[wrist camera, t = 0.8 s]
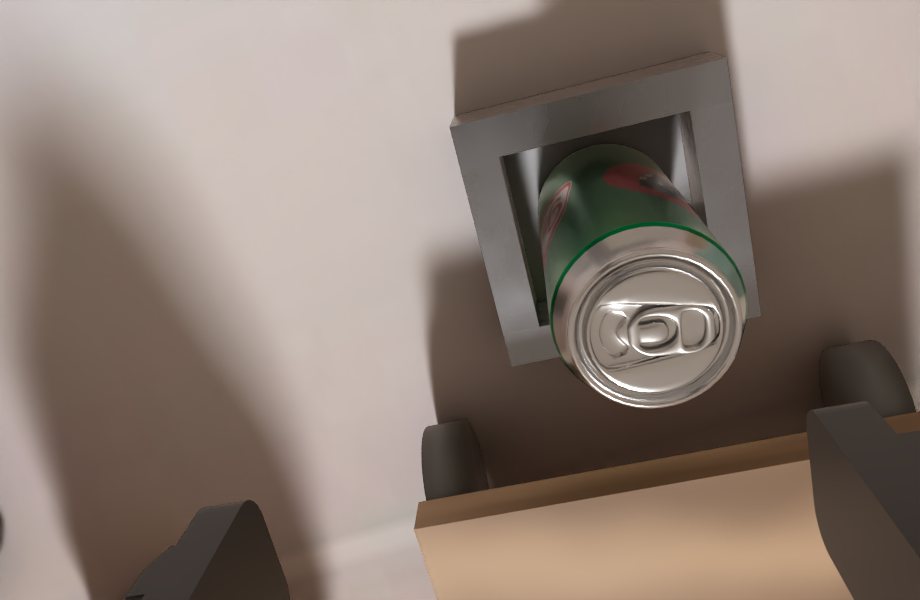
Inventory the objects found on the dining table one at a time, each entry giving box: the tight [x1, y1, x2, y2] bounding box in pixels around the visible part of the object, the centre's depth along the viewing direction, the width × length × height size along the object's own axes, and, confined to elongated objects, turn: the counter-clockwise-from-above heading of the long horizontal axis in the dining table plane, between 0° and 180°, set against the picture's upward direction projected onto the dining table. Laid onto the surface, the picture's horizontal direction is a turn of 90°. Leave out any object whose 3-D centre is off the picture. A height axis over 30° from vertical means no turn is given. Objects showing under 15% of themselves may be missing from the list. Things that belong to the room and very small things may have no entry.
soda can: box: [538, 144, 748, 409], centre depth 25 cm, size 5×5×12 cm
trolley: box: [414, 340, 920, 600], centre depth 33 cm, size 14×18×7 cm
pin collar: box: [450, 52, 761, 367], centre depth 30 cm, size 9×9×2 cm
